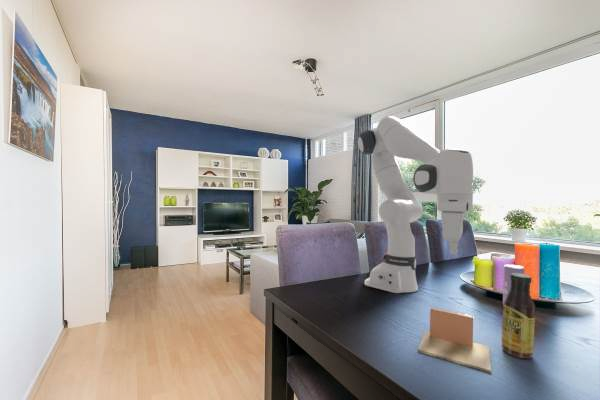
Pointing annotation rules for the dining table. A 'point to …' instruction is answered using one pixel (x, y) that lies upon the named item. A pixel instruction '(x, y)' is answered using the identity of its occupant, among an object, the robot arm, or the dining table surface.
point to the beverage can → (506, 277)
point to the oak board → (456, 352)
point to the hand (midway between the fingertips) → (453, 252)
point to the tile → (451, 326)
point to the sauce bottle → (518, 318)
